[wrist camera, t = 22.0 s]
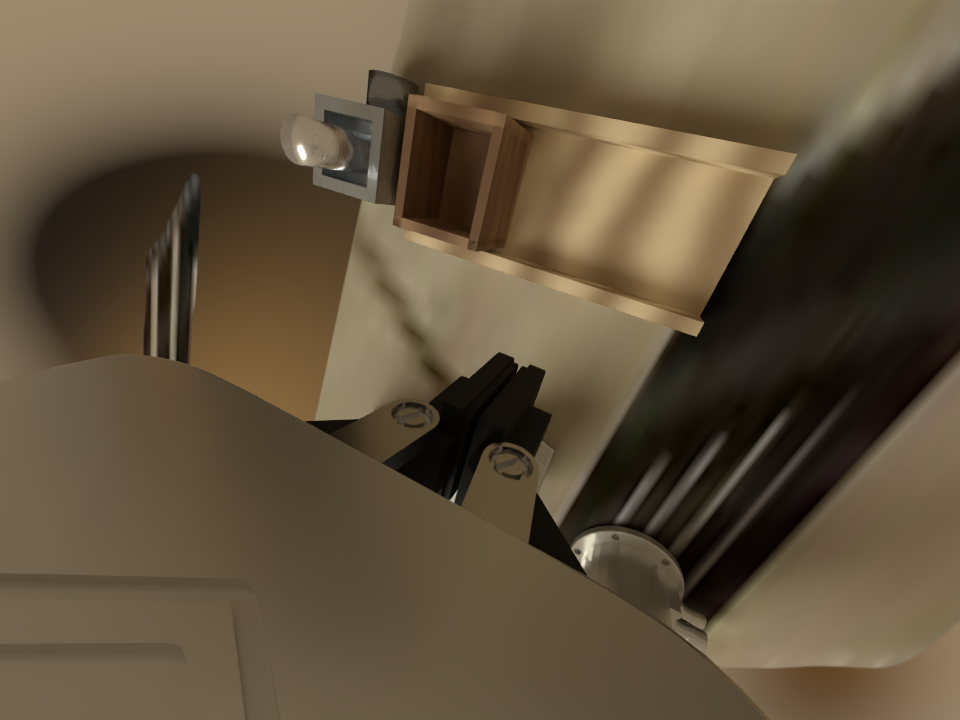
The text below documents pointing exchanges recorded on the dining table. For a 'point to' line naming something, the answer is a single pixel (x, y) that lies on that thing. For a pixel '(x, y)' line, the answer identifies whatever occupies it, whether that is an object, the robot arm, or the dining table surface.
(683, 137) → the tray
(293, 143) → the pin
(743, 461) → the dining table surface
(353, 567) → the robot arm
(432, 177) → the crate
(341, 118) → the grey hollow block
